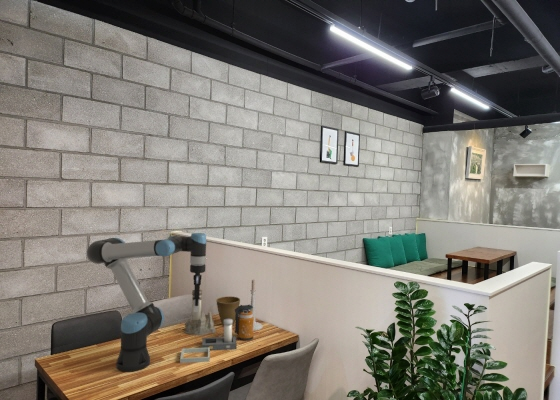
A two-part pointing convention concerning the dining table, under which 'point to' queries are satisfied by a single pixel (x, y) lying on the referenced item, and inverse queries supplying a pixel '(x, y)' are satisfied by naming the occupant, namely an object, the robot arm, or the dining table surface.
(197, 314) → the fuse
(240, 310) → the canister
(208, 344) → the block
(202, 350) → the parts tray
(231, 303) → the plant pot
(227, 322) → the cylinder
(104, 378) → the dining table surface
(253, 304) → the candlestick
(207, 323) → the grey jagged lump
